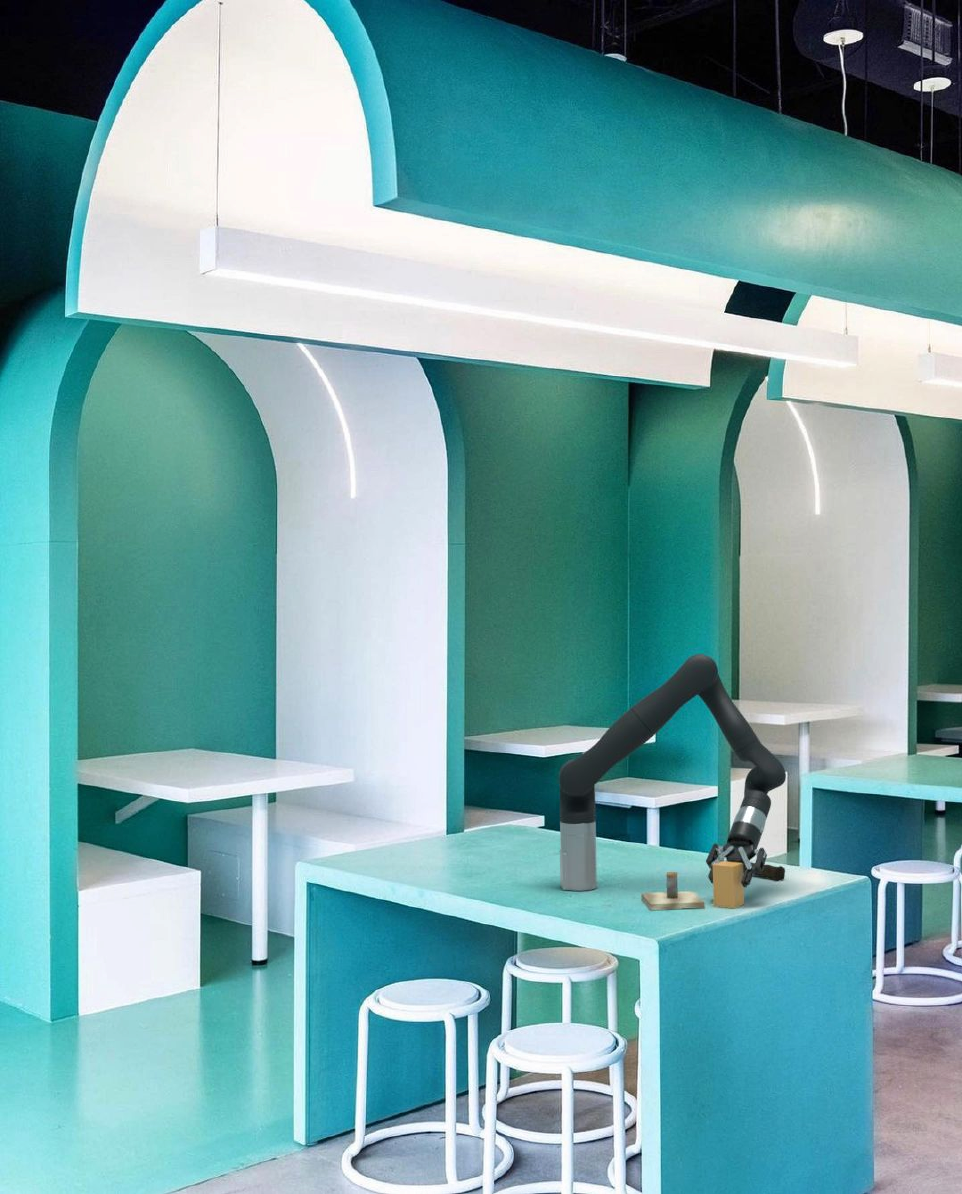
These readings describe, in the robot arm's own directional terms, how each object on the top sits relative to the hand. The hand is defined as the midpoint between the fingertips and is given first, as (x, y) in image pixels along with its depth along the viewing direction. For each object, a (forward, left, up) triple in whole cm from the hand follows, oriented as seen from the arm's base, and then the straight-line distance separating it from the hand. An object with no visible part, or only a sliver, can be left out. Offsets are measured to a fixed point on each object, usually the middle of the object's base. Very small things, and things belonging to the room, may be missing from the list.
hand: (727, 883), depth 334 cm
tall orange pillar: (0, 0, -5) cm, 5 cm away
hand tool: (+15, +35, -6) cm, 38 cm away
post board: (-13, +4, -5) cm, 15 cm away
